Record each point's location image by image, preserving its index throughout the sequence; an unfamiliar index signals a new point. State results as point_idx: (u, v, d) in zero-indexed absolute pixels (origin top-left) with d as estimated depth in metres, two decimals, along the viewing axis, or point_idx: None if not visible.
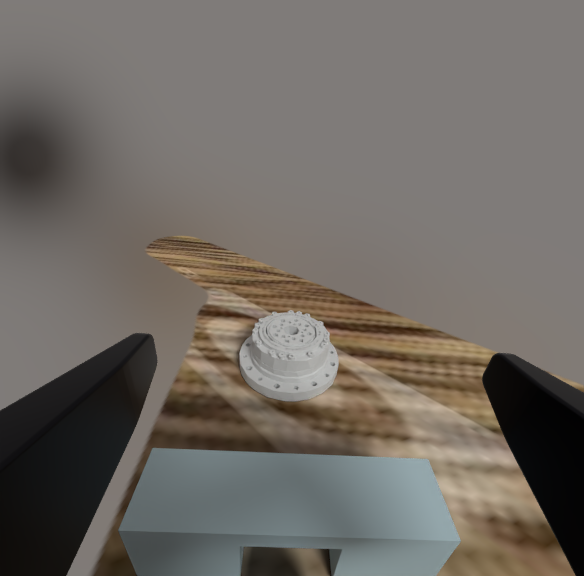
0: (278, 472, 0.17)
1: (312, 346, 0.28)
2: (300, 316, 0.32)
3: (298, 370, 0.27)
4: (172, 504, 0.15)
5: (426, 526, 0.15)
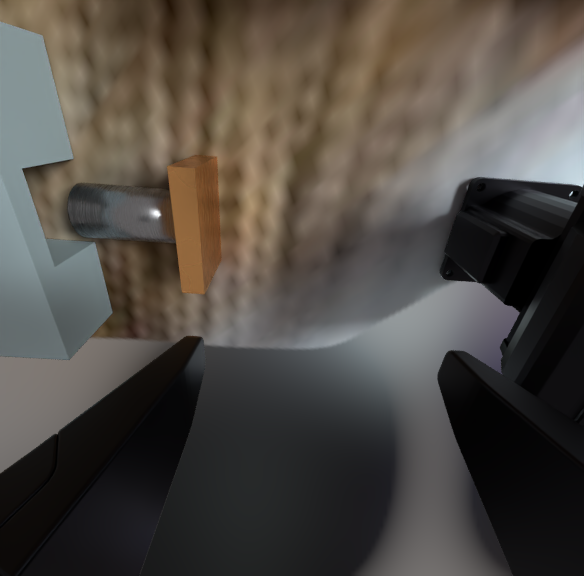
0: None
1: None
2: None
3: None
4: (38, 330, 0.17)
5: None
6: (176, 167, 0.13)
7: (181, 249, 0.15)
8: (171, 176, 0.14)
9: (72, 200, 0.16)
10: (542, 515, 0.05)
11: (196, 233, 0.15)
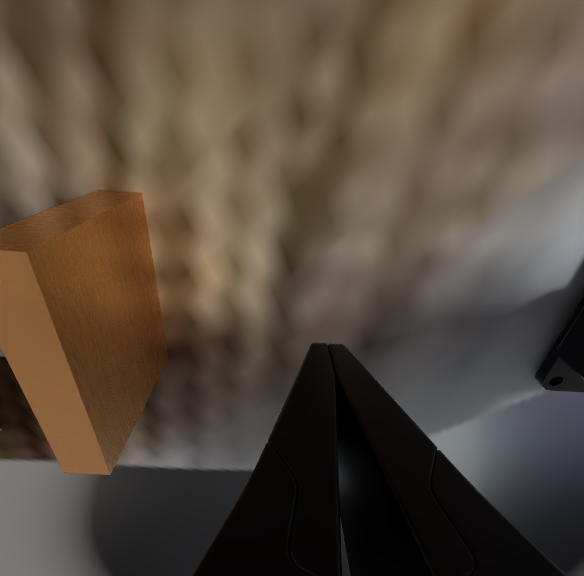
0: None
1: None
2: None
3: None
4: None
5: None
6: None
7: (42, 408, 0.07)
8: None
9: None
10: (360, 509, 0.05)
11: (68, 382, 0.07)
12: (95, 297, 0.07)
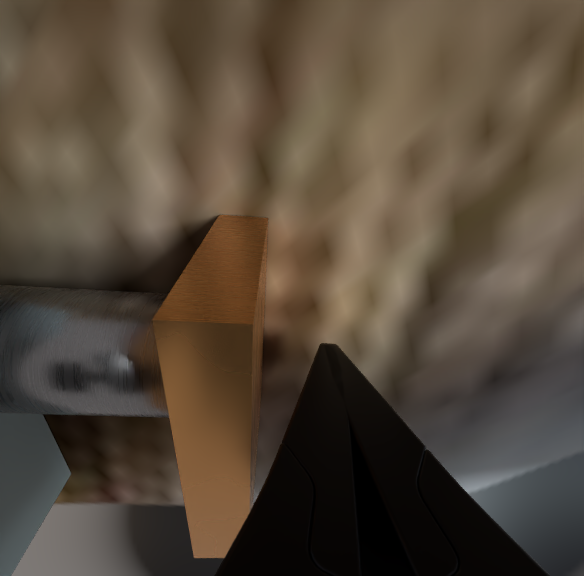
0: None
1: None
2: None
3: None
4: None
5: None
6: (186, 321, 0.04)
7: (195, 494, 0.06)
8: (168, 346, 0.04)
9: None
10: None
11: (241, 468, 0.05)
12: (257, 355, 0.06)
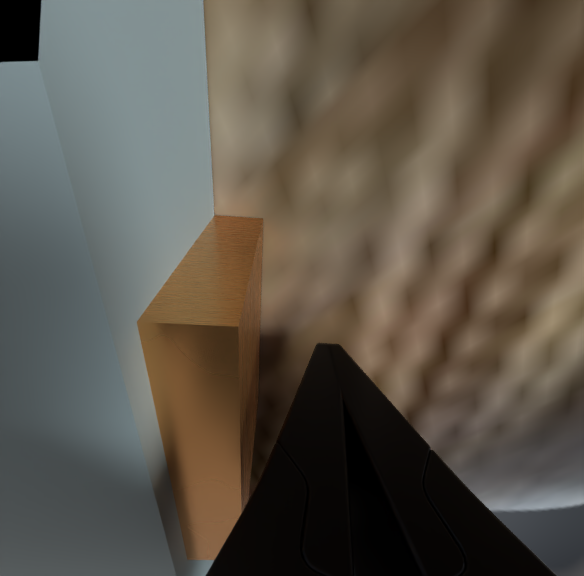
0: None
1: None
2: None
3: None
4: None
5: None
6: (171, 323, 0.04)
7: (186, 497, 0.06)
8: (153, 348, 0.04)
9: None
10: (354, 508, 0.05)
11: (231, 471, 0.05)
12: (249, 357, 0.06)
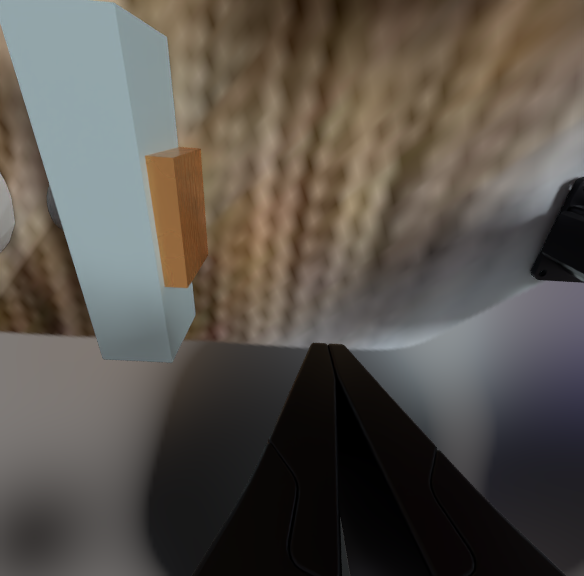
0: (91, 244, 0.14)
1: None
2: None
3: None
4: (146, 333, 0.17)
5: (106, 54, 0.11)
6: (154, 156, 0.13)
7: (162, 242, 0.15)
8: (149, 166, 0.13)
9: None
10: (360, 508, 0.05)
11: (177, 225, 0.15)
12: (186, 191, 0.15)
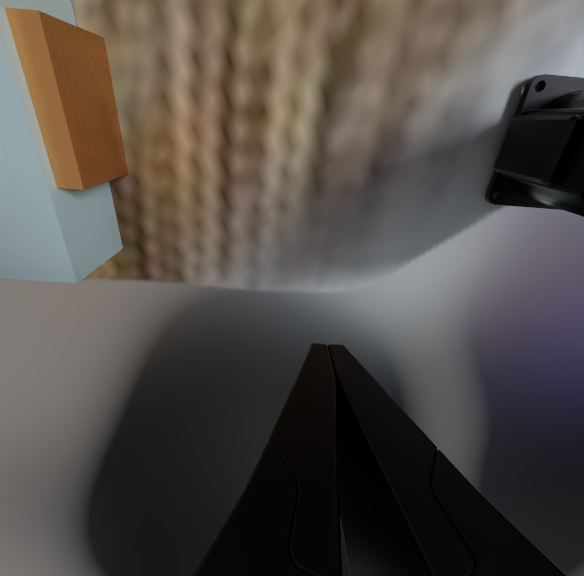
0: None
1: None
2: None
3: None
4: (42, 245, 0.15)
5: None
6: (16, 9, 0.11)
7: (45, 127, 0.13)
8: (13, 22, 0.11)
9: None
10: (360, 509, 0.05)
11: (58, 105, 0.13)
12: (73, 70, 0.13)
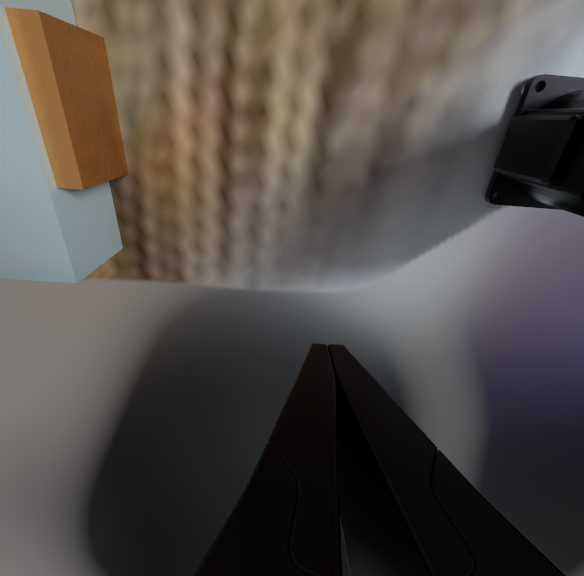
0: None
1: None
2: None
3: None
4: (42, 245, 0.15)
5: None
6: (16, 9, 0.11)
7: (45, 127, 0.13)
8: (12, 22, 0.11)
9: None
10: (360, 509, 0.05)
11: (58, 105, 0.13)
12: (73, 70, 0.13)
